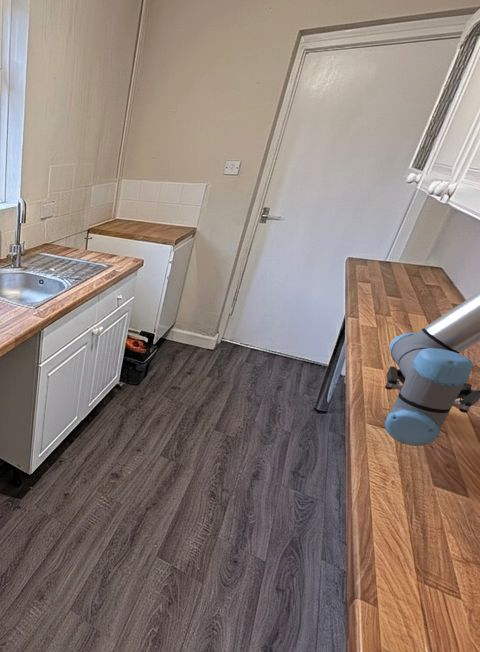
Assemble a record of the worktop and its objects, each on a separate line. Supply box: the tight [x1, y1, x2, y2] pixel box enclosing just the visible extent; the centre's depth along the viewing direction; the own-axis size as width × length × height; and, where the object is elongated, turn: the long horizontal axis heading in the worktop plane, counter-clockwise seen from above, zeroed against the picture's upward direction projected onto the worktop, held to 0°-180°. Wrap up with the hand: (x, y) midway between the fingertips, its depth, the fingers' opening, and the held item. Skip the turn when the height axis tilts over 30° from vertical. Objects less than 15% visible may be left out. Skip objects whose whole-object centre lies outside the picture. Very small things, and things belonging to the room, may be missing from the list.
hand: (436, 373), depth 105 cm, fingers closed on cupcake, 8 cm apart
